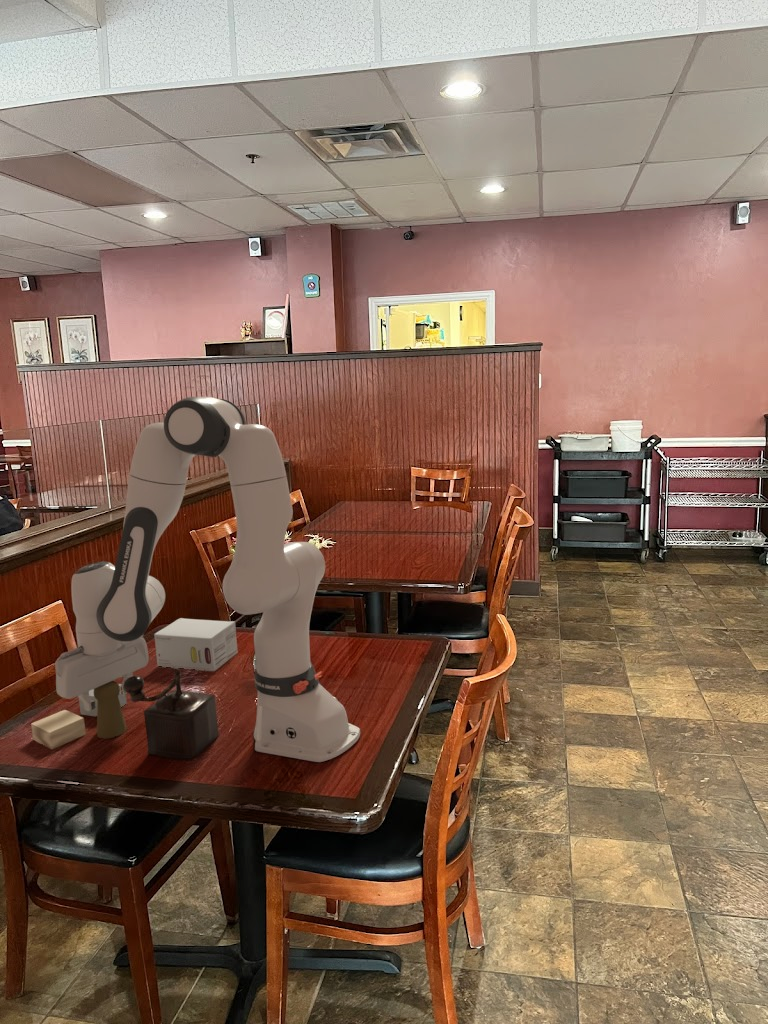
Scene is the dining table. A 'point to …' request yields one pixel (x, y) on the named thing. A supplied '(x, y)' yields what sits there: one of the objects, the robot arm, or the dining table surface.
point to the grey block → (91, 696)
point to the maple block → (58, 729)
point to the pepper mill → (176, 719)
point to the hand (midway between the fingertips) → (107, 701)
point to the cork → (109, 711)
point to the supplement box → (196, 644)
